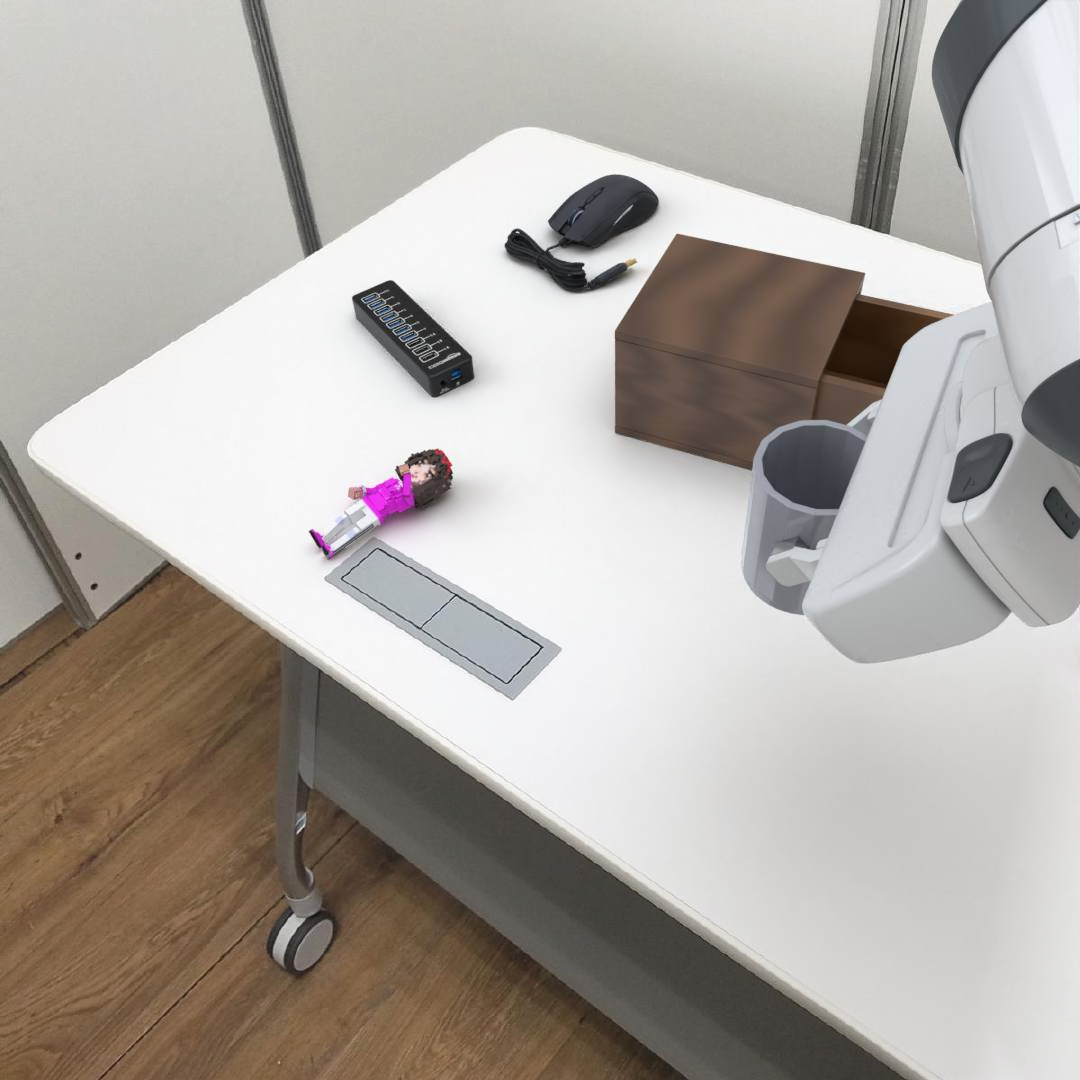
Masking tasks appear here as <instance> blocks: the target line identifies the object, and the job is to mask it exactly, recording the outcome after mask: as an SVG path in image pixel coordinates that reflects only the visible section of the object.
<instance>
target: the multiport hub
mask: <svg viewBox="0 0 1080 1080" xmlns="http://www.w3.org/2000/svg"><path fill="white" fill-rule="evenodd" d="M351 301H352V306H353V310H354V314H355V318H356V320H357V321H358V322H359V323H360V324H361V325H362V326H363V327H364V328H365V329H366V330H367V331H368V333H370V335H372V336H373V337H374V339H376V341H377V342H379V343H380V345H381V346H382V348H384V349H385V350H386V351H387V352H388V353H389V355H391V356H392V357H393V358H394V359H395V361H397V362H398V363H399V364H400V366H402V368H403V369H404V370H405V371H406V372H407V373H408V374H409V375H410V376H411V377H412V378H413V379H414V380H415V381H416V382H417V383H418V384H419V385H420V386H421V387H422V388H423V390H424V391H426V393H428V395H429V396H430V397H432V398H437V397H439V396H442V395H444V394H445V393H448V392H450V391H452V390H454V389H456V388H458V387H461V386H462V385H464V384H467V383H469V382H471V381H472V380H474V379H475V371H474V369H475V368H474V361H473V355H472V354H470V353H469V352H468V351H467V350H466V349H465V348H464V347H463V346H462V345H461V344H460V343H459V342H458V341H457V340H456V339H455V338H454V337H453V336H452V335H450V333H449V332H447V330H446V329H445V328H443V327H442V325H440V324H439V323H438V322H437V321H436V320H435V319H434V318H433V317H432V316H431V315H430V314H429V313H428V312H426V310H424V309H423V308H422V307H421V305H419V303H417V301H415V300H414V299H413V298H412V297H411V296H410V295H409V294H408V293H407V292H406V291H405V290H404V289H403V288H402V287H401V286H400V285H399V284H398V283H397V282H395V280H393V279H388V280H385V281H384V282H381V283H379V284H376V285H374V286H372V287H369V288H367V289H365V290H363V291H360V292H358V293H356V294H354V295H352V296H351Z"/></svg>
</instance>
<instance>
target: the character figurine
mask: <svg viewBox="0 0 1080 1080" xmlns="http://www.w3.org/2000/svg"><path fill="white" fill-rule="evenodd" d="M452 466H453V463H452V462H451V461H450V459H449V457H448V455H446V454H445V452H444V451H443V450H442V449H439V448H438V447H437V448H435V449H434V448H433V449H431V448H429V449H428V450H426V449H424V450H422V451H420V452H418V451H417V452H415V453H411V454H410V456H409V457H407V459H406V460H405V461H404V464H401V465H396V466H395V469H394V471H395V473H396V475H397V476H398V478H394V477H390V478H389V479H386V480H384V481H383V482H381V483H379V484H376V485H375V486H374V487H366V486H365V485H363V484H360V485H359V486H353V487H348V491H347V497H348V498H350V499H351V500H352V501H353V500H354V501H355V500H357V501H355V503H354V504H353V505H351V506H349V507H348V508H347V509H345V510H344V513H342V514H341V515H340V516H338V517H337V518H335V519H334V520H333V521H332V522H331V523H330V524H329V525H328V526H327V527H325V528H324V530H322V531H321V532H320V533H319V531H318V530H317V531H316V530H315V529H313V528H311V529H310V530H308V533H309V535H310V536H311V538H312V540H313V541H314V544H315V545H316V546H317V547H318V548H319V549H322V550H321V551H322V553H323V555H324V557H326V559H327V560H330V559H331V558H332V557H334V556H335V555H337V554H338V553H340V552H341V551H342V550H344V549H347V548H349V546H351V545H352V544H354V543H355V542H357V541H358V540H360V539H361V538H363V536H365V535H366V534H368V533H369V532H371V531H372V530H374V529H375V528H376V527H377V526H378V527H380V526H381V525H383V524H384V523H385V519H386V518H388V517H389V515H391V514H393V513H395V512H398V513H400V514H401V513H402V512H404V511H407V510H408V509H410V508H412V507H414V506H415V509H419V510H421V509H423V508H425V507H427V506H429V505H431V503H433V502H435V501H437V500H439V499H440V498H441V496H442V495H443V494H445V493H446V492H447V491H449V490H450V489H452V487H451V486H452V482H453V480H454V476H453V475H454V472H453V470H452ZM351 526H354V527H353V528H352V529H350V530H348V532H346V533H345V534H343V535H342V536H341V537H339V536H340V535H341V534H342V533H343V532H344V531H345V530H347V529H348V528H350V527H351ZM335 537H336V538H338V537H339V538H338V539H337V540H336V541H333V542H332V543H331V544H329V543H330V542H331V541H332V540H333V539H334V538H335Z"/></svg>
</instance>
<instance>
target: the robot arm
mask: <svg viewBox="0 0 1080 1080" xmlns="http://www.w3.org/2000/svg"><path fill="white" fill-rule="evenodd" d="M931 81H932V82H931V83H932V87H933V90H934V94H935V96H936V99H937V100H936V101H937V103H938V106H939V110H940V112H941V115H942V119H943V122H944V125H945V128H946V131H947V134H948V138H949V140H950V145H951V147H952V150H953V154H954V157H955V160H956V163H957V166H958V169H959V170H960V172H961V173H962V175H963V179H964V183H965V184H964V185H965V188H966V194H967V198H968V205H969V209H970V214H971V219H972V224H973V229H974V235H975V239H976V245H977V249H978V255H979V260H980V264H981V265H980V266H981V269H982V275H983V279H984V285H985V289H986V293H987V295H988V297H989V300H990V301H988V302H986V303H983V304H980V305H977V306H974V307H972V308H969V309H966V310H963V311H961V312H957V313H955V314H954V315H953V316H950V317H947V318H945V319H942V320H940V321H938V322H935V323H933V324H930V325H928V326H926V327H924V328H923V329H922V330H920V331H919V332H918V333H916V334H915V335H914V336H913V337H911V338H910V339H909V340H908V341H907V342H906V343H905V344H904V345H903V347H902V349H901V351H900V354H899V357H898V360H897V362H896V365H895V367H894V370H893V372H892V375H891V377H890V380H889V383H888V385H887V388H886V390H885V393H884V395H883V398H882V399H881V400H879V401H876V402H874V403H872V404H871V405H870V406H869V407H867V408H866V409H865V410H864V411H863V412H861V413H860V414H859V415H858V416H857V417H855V418H854V419H853V420H852V421H851V422H849V423H848V424H847V425H848V426H851V427H853V428H855V429H857V430H858V431H860V432H862V433H863V434H865V435H867V439H866V441H865V444H864V447H863V449H862V452H861V454H860V457H859V459H858V462H857V465H856V467H855V470H854V472H853V475H852V477H851V480H850V482H849V485H848V488H847V490H846V493H845V495H844V498H843V500H842V503H841V505H840V508H839V511H838V513H837V516H836V518H835V521H834V523H833V526H832V529H831V531H830V534H829V536H828V538H826V539H823V540H820V541H819V542H818V543H817V546H816V549H817V550H810V549H809V548H808V546H807V544H806V543H805V542H804V541H803V540H802V539H801V538H800V537H799V536H796V537H793V538H790V539H787V540H785V541H784V542H783V541H779V542H777V543H776V544H775V546H774V548H773V550H772V552H771V554H770V557H769V559H768V561H767V563H766V569H767V571H768V572H769V573H770V574H771V575H772V576H773V577H774V578H775V579H776V580H777V581H778V582H779V583H780V584H782V585H784V586H793V585H797V584H801V583H804V582H808V581H811V582H810V585H809V587H808V590H807V592H806V594H805V597H804V599H803V603H802V610H803V613H804V615H803V616H805V617H806V619H807V620H808V621H809V623H810V624H811V625H812V626H813V627H814V628H815V630H817V632H818V633H819V634H820V635H821V636H822V637H823V639H824V640H825V641H826V642H827V643H828V644H830V645H831V647H832V648H833V649H834V650H836V651H837V652H838V653H839V654H841V655H842V656H844V657H845V658H846V659H848V660H849V661H851V662H853V663H856V664H862V665H863V664H864V665H869V664H870V665H871V664H879V663H886V662H892V661H896V660H902V659H907V658H911V657H917V656H922V655H925V654H926V655H927V654H930V653H934V652H938V651H943V650H946V649H951V648H955V647H957V646H961V645H964V644H967V643H970V642H973V641H977V640H978V639H980V638H982V637H984V636H986V635H987V634H989V633H991V632H992V631H994V630H995V629H997V628H998V627H999V626H1001V625H1002V624H1003V623H1004V622H1005V621H1006V619H1008V617H1009V616H1010V615H1011V613H1012V614H1013V615H1015V616H1016V617H1017V618H1018V619H1019V620H1020V621H1021V623H1023V624H1024V625H1025V626H1027V627H1029V628H1042V627H1043V628H1044V627H1048V626H1052V625H1057V624H1060V623H1062V622H1064V621H1067V620H1068V619H1069V618H1070V617H1072V615H1074V613H1075V612H1076V611H1077V610H1078V608H1079V607H1080V0H960V2H958V4H957V6H956V8H955V10H954V11H953V13H952V15H951V16H950V18H949V20H948V21H947V23H946V25H945V27H944V28H943V31H942V33H941V35H940V36H939V39H938V42H937V45H936V46H935V51H934V53H933V57H932V63H931Z"/></svg>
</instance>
